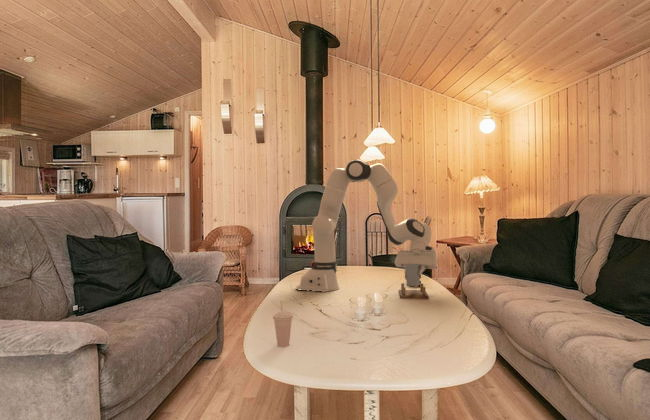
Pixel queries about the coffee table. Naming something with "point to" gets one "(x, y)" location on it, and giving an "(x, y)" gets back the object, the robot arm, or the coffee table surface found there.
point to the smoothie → (283, 327)
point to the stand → (413, 293)
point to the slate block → (412, 274)
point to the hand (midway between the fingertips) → (412, 274)
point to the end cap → (414, 286)
